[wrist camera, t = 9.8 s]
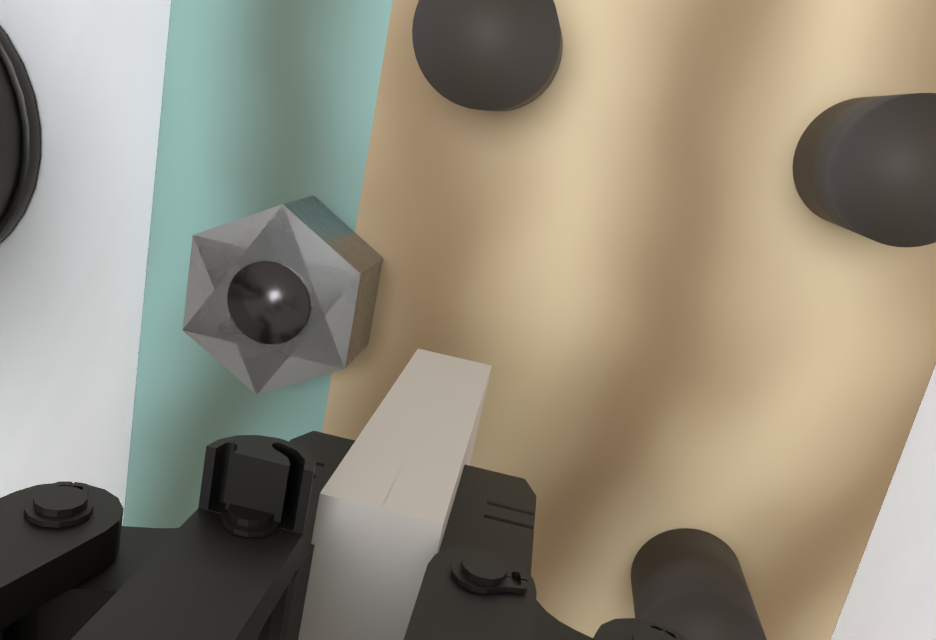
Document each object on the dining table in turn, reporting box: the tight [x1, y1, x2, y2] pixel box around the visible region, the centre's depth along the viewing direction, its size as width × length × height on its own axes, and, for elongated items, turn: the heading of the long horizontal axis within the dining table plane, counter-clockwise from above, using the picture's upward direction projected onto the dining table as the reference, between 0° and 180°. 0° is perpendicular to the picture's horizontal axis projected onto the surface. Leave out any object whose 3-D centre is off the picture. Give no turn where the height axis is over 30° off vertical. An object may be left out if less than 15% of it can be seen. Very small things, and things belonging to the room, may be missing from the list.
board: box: [123, 0, 936, 640], centre depth 22 cm, size 22×25×4 cm
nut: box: [182, 195, 383, 395], centre depth 22 cm, size 5×4×2 cm
